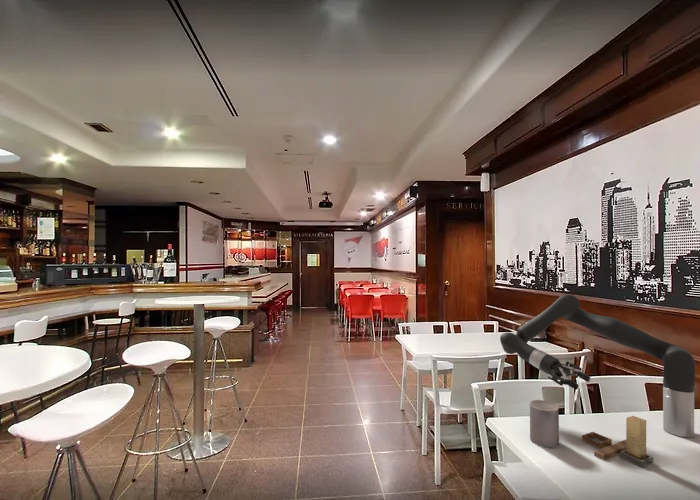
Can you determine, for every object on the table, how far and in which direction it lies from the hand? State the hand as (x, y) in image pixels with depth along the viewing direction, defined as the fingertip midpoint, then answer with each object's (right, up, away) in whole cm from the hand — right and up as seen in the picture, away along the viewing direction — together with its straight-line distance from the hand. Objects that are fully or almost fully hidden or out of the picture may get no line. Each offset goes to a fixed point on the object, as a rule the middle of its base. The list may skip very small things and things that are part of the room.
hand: (583, 383), depth 143 cm
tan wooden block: (+7, -20, -17) cm, 27 cm away
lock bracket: (+4, -20, -11) cm, 23 cm away
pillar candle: (-18, -20, -5) cm, 27 cm away
